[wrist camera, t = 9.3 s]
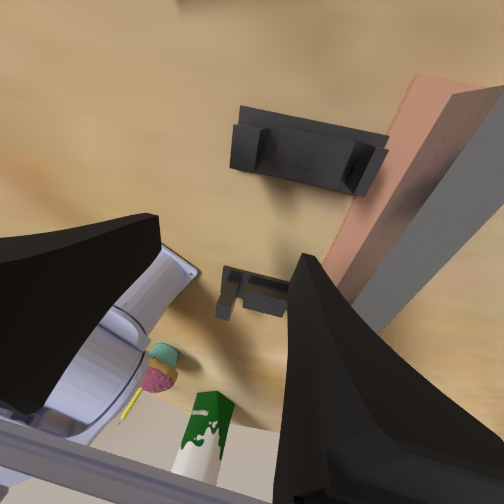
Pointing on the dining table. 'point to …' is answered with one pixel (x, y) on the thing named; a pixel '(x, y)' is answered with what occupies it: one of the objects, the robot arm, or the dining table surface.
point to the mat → (392, 165)
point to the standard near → (307, 151)
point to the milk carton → (204, 438)
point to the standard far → (251, 293)
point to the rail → (432, 207)
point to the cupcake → (158, 372)
